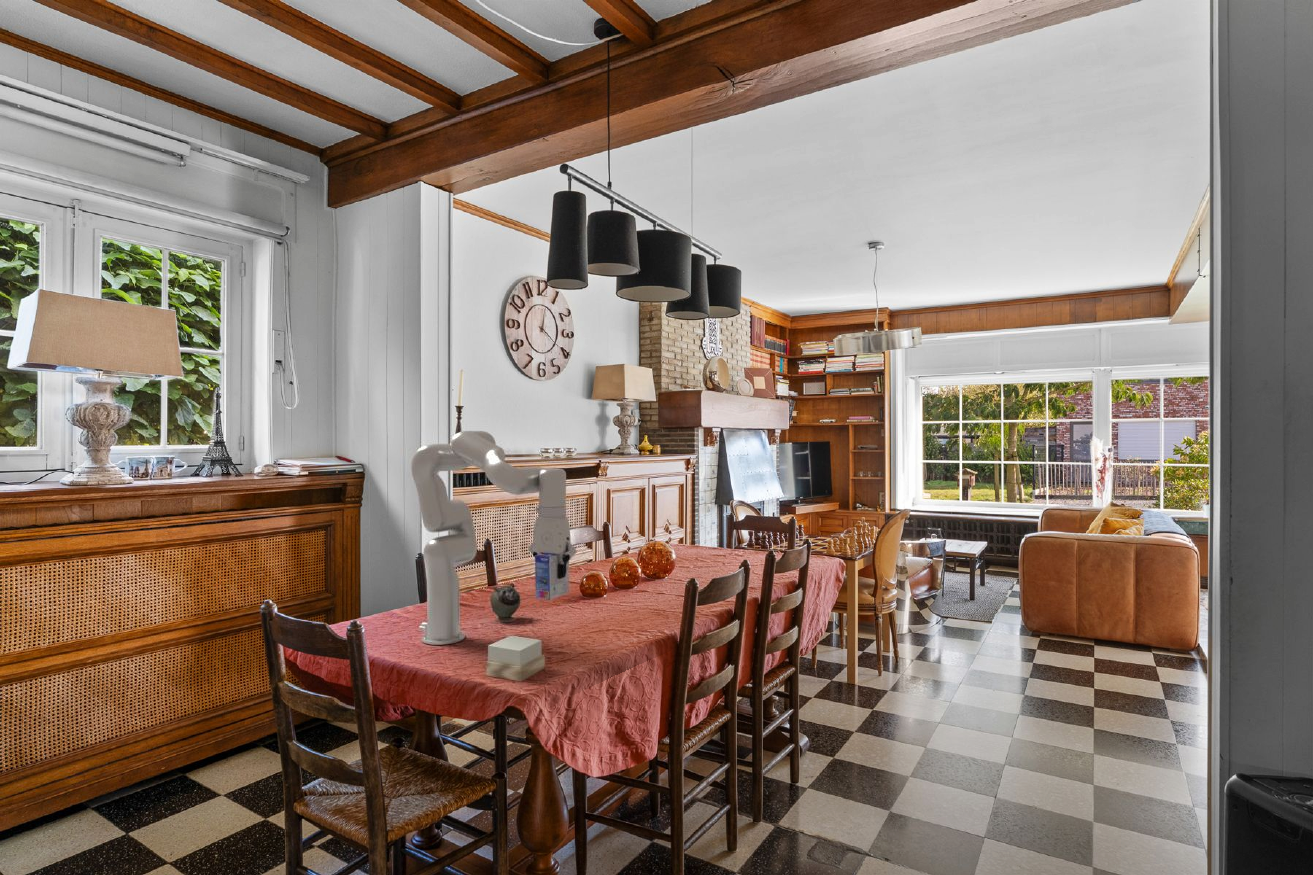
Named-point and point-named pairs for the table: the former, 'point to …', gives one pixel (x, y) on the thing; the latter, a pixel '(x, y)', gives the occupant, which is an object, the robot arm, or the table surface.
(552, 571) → the ink cartridge box
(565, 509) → the robot arm
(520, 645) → the tower top block
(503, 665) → the tower bottom block
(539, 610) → the table surface
